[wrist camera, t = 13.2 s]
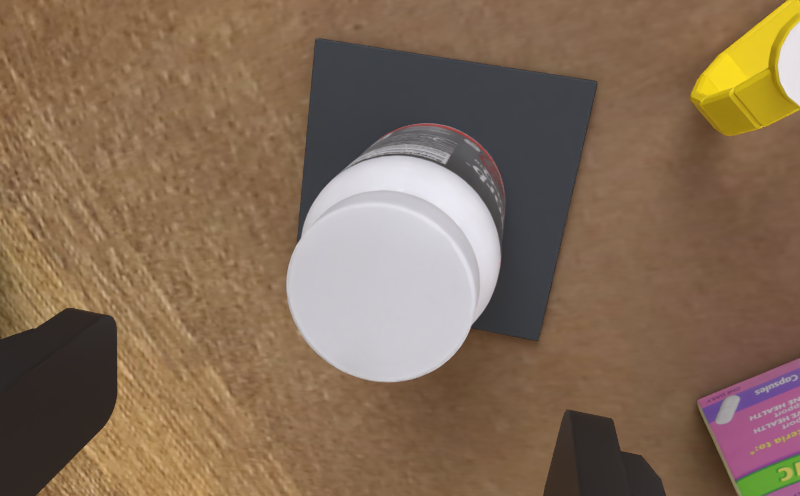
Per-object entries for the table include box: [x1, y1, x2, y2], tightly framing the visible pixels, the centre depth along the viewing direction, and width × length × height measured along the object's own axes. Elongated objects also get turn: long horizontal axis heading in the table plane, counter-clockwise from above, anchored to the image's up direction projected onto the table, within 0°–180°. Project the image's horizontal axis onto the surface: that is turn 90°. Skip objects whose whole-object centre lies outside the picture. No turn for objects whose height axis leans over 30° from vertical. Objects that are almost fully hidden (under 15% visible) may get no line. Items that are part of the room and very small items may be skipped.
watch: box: [690, 0, 800, 136], centre depth 20 cm, size 6×3×6 cm, turn 134°
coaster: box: [297, 39, 597, 341], centre depth 26 cm, size 10×10×1 cm
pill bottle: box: [286, 123, 506, 382], centre depth 21 cm, size 6×6×10 cm
